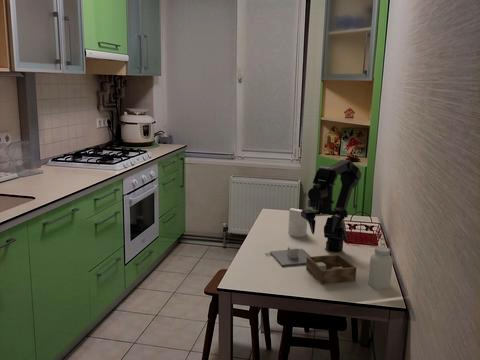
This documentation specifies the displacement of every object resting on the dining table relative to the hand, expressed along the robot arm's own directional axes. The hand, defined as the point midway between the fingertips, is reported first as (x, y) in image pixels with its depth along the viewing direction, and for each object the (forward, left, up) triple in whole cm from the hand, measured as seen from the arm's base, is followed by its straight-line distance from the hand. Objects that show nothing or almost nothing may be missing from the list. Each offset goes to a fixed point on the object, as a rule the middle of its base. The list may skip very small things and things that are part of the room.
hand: (323, 233), depth 195 cm
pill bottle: (-10, +28, -12) cm, 32 cm away
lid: (+12, -3, -12) cm, 17 cm away
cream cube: (+7, +13, -11) cm, 19 cm away
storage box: (+4, +16, -12) cm, 20 cm away
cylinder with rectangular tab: (-3, -34, -12) cm, 36 cm away
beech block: (+1, +18, -11) cm, 21 cm away
